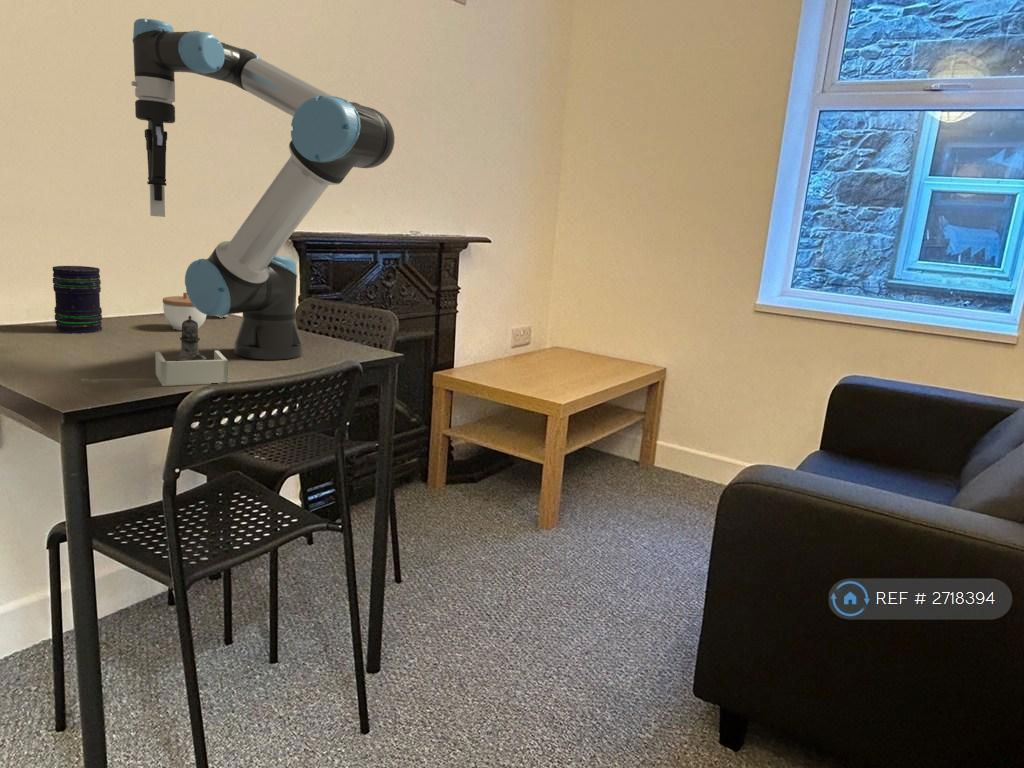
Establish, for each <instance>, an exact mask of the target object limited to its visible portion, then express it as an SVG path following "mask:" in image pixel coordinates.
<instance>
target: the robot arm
mask: <svg viewBox="0 0 1024 768" xmlns="http://www.w3.org/2000/svg"><path fill="white" fill-rule="evenodd" d="M132 36H133V37H132V44H133V67H134V68H133V70H134V80H133V81H131V86H133V87H135V89H134V92H135V93H134V95H135V97H136V98H138V99H136V101H135V104H134V106H135V109H134V110H135V118H137V120H140V121H146V122H148V123H147V128H146V129H144V138H145V149H146V154H147V155H146V157H147V169H148V170H147V175H148V176H147V180H148V181H147V185H149V208H150V209H149V211H150V212H149V213H150V217H161V218H162V217H163V218H165V217H166V204H165V203H166V199H165V198H166V197H165V191H166V190H165V187H166V186H167V178H166V174H167V173H166V172H167V171H166V169H167V168H166V167H167V166H166V165H167V162H166V161H167V140H168V131H166V130H165V129H164V128H165V127H164V126H165V125H164V124H174V123H175V122H176V106H175V105H174V104H173V103H174V102H175V103H176V83H175V82H176V81H175V73H189V74H190V73H191V74H196V75H200V76H203V77H207V78H211V79H214V80H218V81H222V82H226V83H229V84H231V85H234V86H236V87H237V88H239V89H241V90H242V91H245V92H247V93H249V94H251V95H252V96H255V97H257V98H258V99H260V100H263V101H264V102H266V103H268V104H270V105H271V106H273V107H275V108H277V109H279V110H280V111H282V112H284V113H286V114H289V116H291V117H292V120H291V124H290V125H291V127H292V130H290V137H291V141H290V142H289V144H288V148H289V153H290V157H289V158H288V160H287V161H286V162H285V164H284V166H282V168H281V169H280V171H279V172H278V173H277V175H276V177H275V178H273V181H272V182H271V184H270V185H269V186H268V188H267V189H266V190H265V192H264V193H263V195H262V196H261V197H260V199H259V201H258V202H257V203H256V205H255V206H254V207H253V209H252V210H251V212H250V213H249V214H248V215H247V217H246V219H245V220H244V221H243V223H242V225H240V227H239V228H238V230H237V231H236V233H235V234H234V236H233V237H232V239H231V240H225V241H221V242H219V243H218V244H217V245H216V247H215V248H214V250H213V252H212V253H211V254H210V255H209V257H208V258H206V259H205V258H199V259H196V260H194V261H192V262H191V263H190V264H188V267H187V268H186V271H185V274H184V275H185V276H184V285H185V289H186V290H185V291H186V292H185V293H187V295H188V297H189V299H190V301H191V303H192V304H193V305H194V307H195V308H196V309H197V310H198V311H200V312H201V313H203V314H206V315H207V316H210V317H211V316H214V317H218V316H224V315H228V316H229V315H234V314H241V313H242V319H241V323H240V325H239V329H238V331H237V335H236V338H235V341H234V351H233V352H234V354H235V355H236V356H240V357H243V358H248V359H253V360H254V359H255V360H268V361H271V360H272V361H275V360H276V361H277V360H288V359H295V358H298V357H301V356H302V355H303V342H302V339H301V335H300V333H299V329H298V326H297V322H296V313H297V312H296V310H297V309H296V308H297V307H296V306H297V279H298V273H297V262H296V261H295V259H293V258H292V257H290V256H284V255H278V253H279V251H280V250H281V248H283V247H284V246H285V244H286V243H287V241H288V240H289V238H290V237H291V235H293V233H294V232H295V230H296V229H297V228H298V227H299V225H300V224H301V223H302V221H303V220H304V219H305V217H306V216H307V214H308V213H309V212H310V211H311V209H312V208H313V206H314V205H315V204H317V201H318V200H319V199H320V197H322V195H323V193H324V192H325V191H326V189H327V188H328V187H329V186H335V185H337V186H338V185H340V184H341V183H342V182H343V181H344V180H345V178H346V177H347V175H349V173H350V172H351V170H352V169H353V168H358V169H371V168H375V167H378V166H381V165H382V164H383V163H385V162H386V161H387V160H388V159H389V158H390V156H391V155H392V152H393V150H394V147H395V146H394V145H395V139H396V138H395V133H394V132H395V131H394V129H393V125H392V124H391V122H390V120H389V119H388V118H387V116H385V115H384V114H382V112H381V111H379V110H377V109H374V108H373V107H368V106H364V105H362V104H359V103H358V102H354V101H348V100H347V99H344V98H342V97H338V96H333V95H332V94H329V93H327V92H326V91H324V90H321V89H319V88H317V87H315V86H314V85H312V84H311V83H308V82H306V81H304V80H303V79H300V78H299V77H296V76H294V75H293V74H291V73H288V72H287V71H285V70H284V69H281V68H279V67H277V66H275V65H274V64H271V63H269V62H268V61H266V60H264V59H262V57H261V56H260V55H258V54H257V53H255V52H252V51H251V50H248V49H246V48H240V47H237V46H234V45H231V44H228V43H225V42H221V41H220V40H219V39H218V38H217V36H216V35H214V34H212V33H211V32H206V31H205V32H204V31H199V30H193V31H192V30H191V31H174V27H173V26H172V25H171V23H168V22H167V21H166V22H165V21H162V20H158V19H154V18H153V19H150V18H149V19H148V18H138V19H136V20H134V22H133V34H132Z"/></svg>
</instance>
